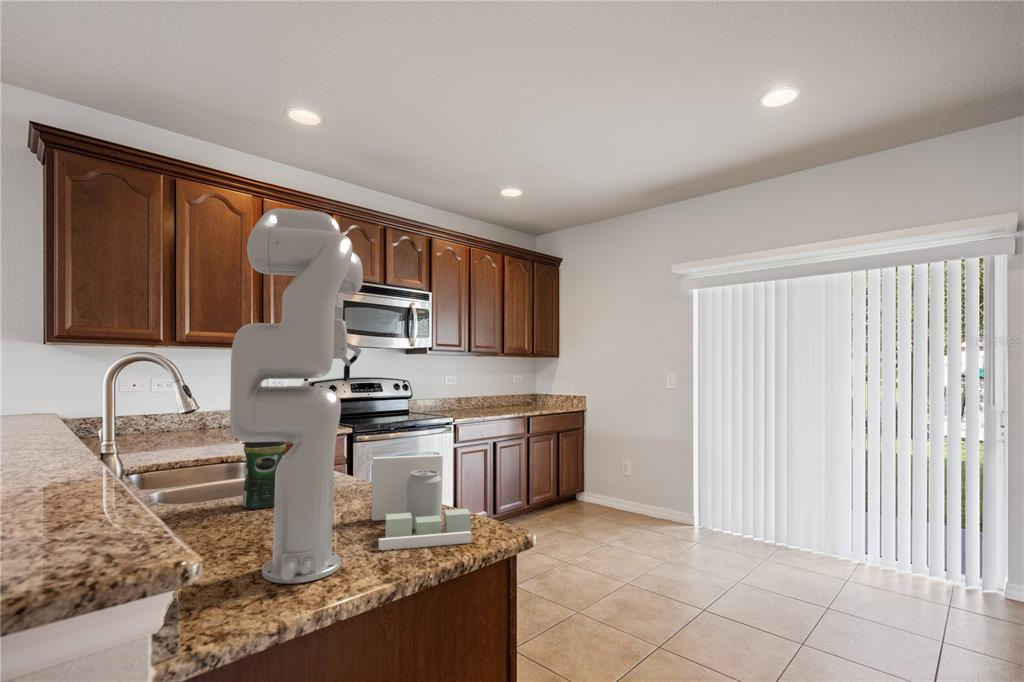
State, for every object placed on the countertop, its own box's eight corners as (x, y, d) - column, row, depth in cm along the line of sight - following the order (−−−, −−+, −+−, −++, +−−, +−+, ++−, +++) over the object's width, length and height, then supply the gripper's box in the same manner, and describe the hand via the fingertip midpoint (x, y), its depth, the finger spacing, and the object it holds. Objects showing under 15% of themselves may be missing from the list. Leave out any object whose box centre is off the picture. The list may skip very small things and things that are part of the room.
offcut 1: (411, 543, 103) (412, 517, 103) (386, 545, 101) (386, 519, 102) (410, 536, 107) (410, 512, 107) (385, 538, 105) (385, 514, 106)
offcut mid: (441, 540, 105) (441, 521, 105) (416, 543, 103) (417, 522, 103) (438, 534, 108) (439, 515, 109) (414, 536, 107) (415, 517, 107)
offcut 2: (470, 538, 106) (470, 513, 106) (446, 540, 105) (446, 515, 105) (466, 532, 110) (467, 508, 110) (443, 534, 109) (443, 510, 109)
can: (402, 531, 110) (403, 474, 110) (410, 520, 117) (411, 467, 118) (437, 532, 110) (438, 475, 110) (443, 521, 117) (444, 468, 118)
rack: (471, 542, 103) (472, 472, 104) (373, 551, 98) (375, 477, 99) (452, 512, 124) (453, 454, 125) (371, 518, 119) (373, 457, 120)
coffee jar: (282, 499, 135) (284, 428, 136) (286, 506, 128) (288, 431, 129) (241, 503, 130) (243, 430, 131) (242, 511, 123) (244, 433, 124)
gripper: (290, 312, 128) (287, 381, 127) (362, 315, 133) (360, 381, 132) (293, 315, 136) (291, 380, 135) (362, 318, 140) (360, 380, 139)
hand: (325, 381), depth 133 cm, fingers open, 9 cm apart
